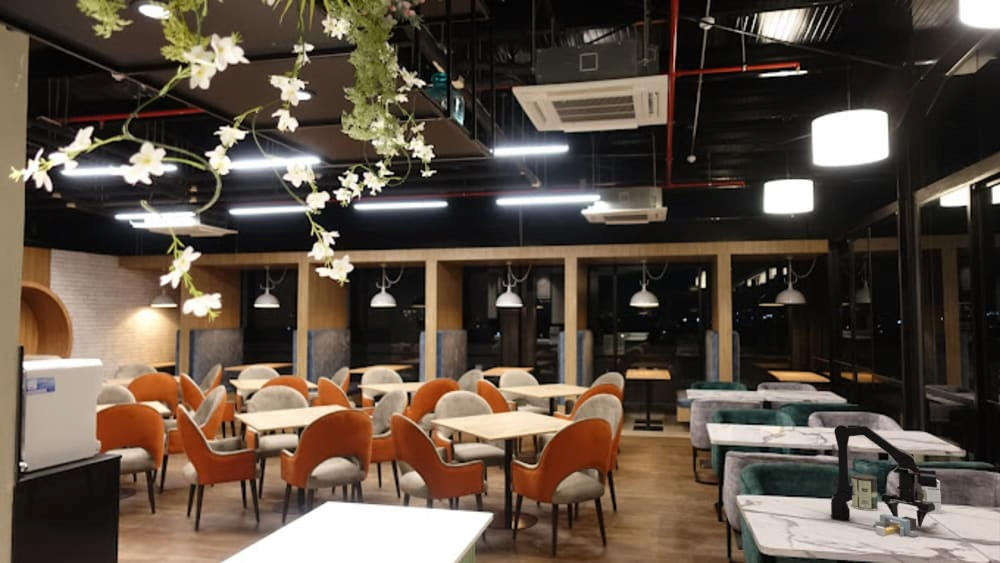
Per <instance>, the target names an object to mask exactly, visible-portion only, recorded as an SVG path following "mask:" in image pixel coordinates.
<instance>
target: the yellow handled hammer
mask: <svg viewBox="0 0 1000 563" xmlns="http://www.w3.org/2000/svg"><path fill="white" fill-rule="evenodd" d="M901 518H903V519H907V520H910V531H915V530H917V518H914V517H909V516H902V517H901ZM897 532H898V533H900V524H897V525H893V526H890V527H887V528H883V527H880V526H876V527H875V534H876V535H877V536H880V537H887V536H888V535H893V533H894V534H896V533H897ZM898 533H897V534H898Z"/></svg>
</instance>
